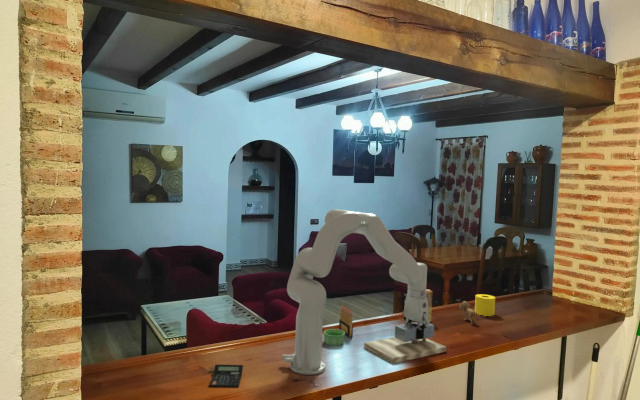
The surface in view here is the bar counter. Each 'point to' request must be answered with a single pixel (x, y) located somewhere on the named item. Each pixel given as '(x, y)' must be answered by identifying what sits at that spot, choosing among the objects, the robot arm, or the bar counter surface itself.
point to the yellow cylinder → (484, 304)
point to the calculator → (226, 376)
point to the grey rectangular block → (412, 331)
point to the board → (404, 349)
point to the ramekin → (334, 337)
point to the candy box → (429, 303)
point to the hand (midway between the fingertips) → (414, 335)
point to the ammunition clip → (346, 321)
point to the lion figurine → (468, 312)
